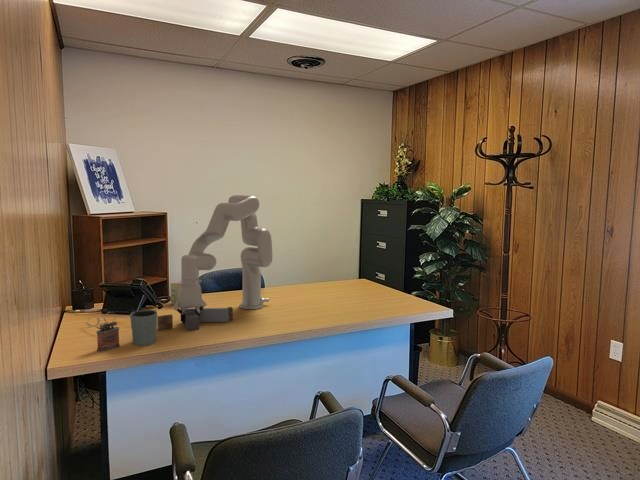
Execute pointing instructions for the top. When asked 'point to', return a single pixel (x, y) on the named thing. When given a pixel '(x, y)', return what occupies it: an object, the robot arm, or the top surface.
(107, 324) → the lighter
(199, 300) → the robot arm
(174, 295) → the box
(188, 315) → the dark boxy piece
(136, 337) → the grey-green cup
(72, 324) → the top surface
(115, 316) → the eyeglasses
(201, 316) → the blue-grey long block
